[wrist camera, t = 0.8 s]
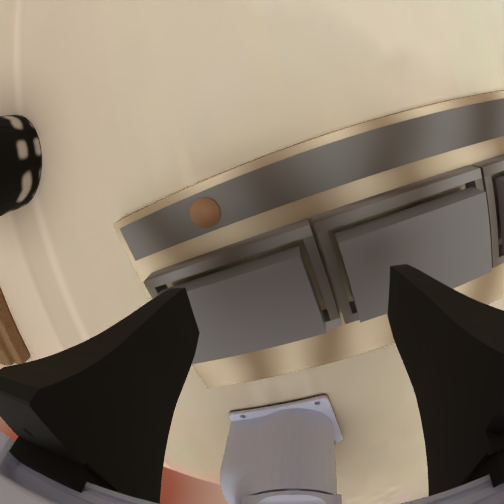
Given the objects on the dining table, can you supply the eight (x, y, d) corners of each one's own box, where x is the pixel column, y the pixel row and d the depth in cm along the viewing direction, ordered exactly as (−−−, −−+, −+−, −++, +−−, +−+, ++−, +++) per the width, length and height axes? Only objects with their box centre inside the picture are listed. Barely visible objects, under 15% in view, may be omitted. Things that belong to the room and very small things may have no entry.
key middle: (355, 308, 18) (360, 322, 16) (334, 233, 16) (338, 243, 15) (480, 261, 15) (491, 271, 14) (472, 186, 14) (485, 191, 12)
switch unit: (210, 378, 25) (203, 400, 22) (121, 218, 20) (101, 230, 18) (563, 252, 16) (579, 263, 14) (545, 84, 12) (565, 84, 9)
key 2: (195, 350, 20) (189, 364, 19) (160, 290, 19) (151, 302, 17) (324, 318, 18) (326, 332, 17) (299, 245, 16) (299, 255, 15)
